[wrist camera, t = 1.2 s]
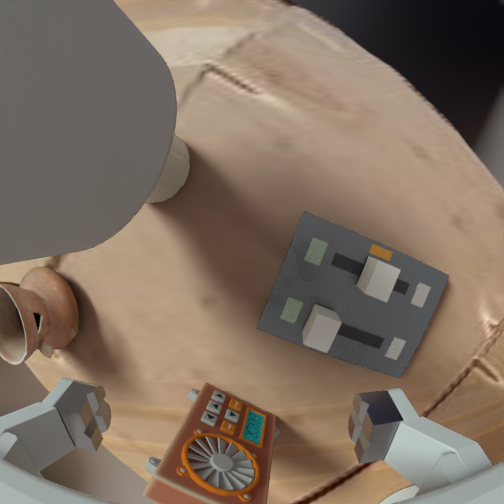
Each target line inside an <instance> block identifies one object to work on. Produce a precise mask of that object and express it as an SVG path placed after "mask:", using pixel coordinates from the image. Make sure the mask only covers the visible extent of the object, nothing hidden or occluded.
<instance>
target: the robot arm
mask: <svg viewBox="0 0 504 504" xmlns="http://www.w3.org/2000/svg"><path fill="white" fill-rule="evenodd" d="M105 396H106V394H105V391H104V388H103V387H102V386H100V385H96V384H91V383H86V382H82V381H78V380H72V379H68V378H63V379H61V380H60V381H59V382H58V384H57V385H56V386H55V387H54V388H53V390H52V391H51V392H50V393H49V395H48V396H47V397H46V398H45V399H44V401H43V402H42V403H35V404H33V405H30V406H28V407H25V408H23V409H20V410H17V411H15V412H12V413H10V414H7V415H5V416H2V417H0V504H119V503H114V502H111V501H107V500H104V499H100V498H96V497H93V496H90V495H87V494H84V493H81V492H78V491H75V490H72V489H69V488H67V487H64V486H61V485H59V484H56V483H54V482H51V481H48V480H46V479H44V478H43V477H42V475H41V474H40V472H39V471H41V470H42V469H44V468H45V467H47V466H48V465H50V464H51V463H53V462H55V461H56V460H58V459H59V458H61V457H62V456H64V455H65V454H67V453H68V452H70V451H71V450H73V449H74V448H75V447H79V448H83V449H87V450H91V451H97V449H98V447H99V446H100V444H101V442H102V440H103V437H102V435H101V433H103V432H105V431H107V430H108V428H109V426H110V422H111V410H110V406H109V404H108V403H107V402H106V401H105V400H104V398H105ZM353 405H354V408H355V409H354V410H353V411H352V412H351V413H350V417H349V434H350V437H351V440H353V441H354V442H356V446H355V449H354V450H355V452H356V455H357V458H358V461H359V464H360V463H367V462H373V461H379V460H384V461H385V462H386V463H387V464H388V465H390V466H391V467H392V468H393V469H395V470H396V471H397V472H398V473H400V474H401V475H402V476H404V477H405V478H406V479H407V480H409V481H410V482H411V483H413V484H414V486H411V487H408V488H405V489H402V490H400V491H398V492H396V493H394V494H392V495H391V496H389V497H387V498H386V499H385V500H383V501H382V502H381V503H380V504H504V461H502V462H500V463H498V464H496V465H494V466H493V465H492V463H491V462H490V460H489V459H488V457H487V456H486V454H485V453H484V452H483V450H482V449H481V447H480V446H479V444H478V443H477V442H475V441H473V440H471V439H469V438H466V437H464V436H462V435H460V434H458V433H456V432H454V431H451V430H449V429H447V428H445V427H443V426H441V425H439V424H437V423H435V422H433V421H431V420H429V419H427V418H425V417H419V416H418V415H417V413H416V411H415V410H414V408H413V407H412V405H411V403H410V402H409V400H408V399H407V397H406V396H405V394H404V392H403V391H402V389H400V388H394V389H388V390H383V391H376V392H369V393H361V394H356V396H355V397H354V401H353Z"/></svg>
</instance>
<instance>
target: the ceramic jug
mask: <svg viewBox="0 0 504 504" xmlns="http://www.w3.org/2000/svg"><path fill="white" fill-rule="evenodd" d="M78 327H79V311H78V305H77V302H76V299H75V296H74V293H73V291H72V289H71V287H70V286H69V284H68V283H67V281H66V280H65V279H64V278H63V277H62V276H61V275H60V274H59V273H57V272H56V271H54V270H52V269H50V268H47V267H36V268H33V269H31V270H30V271H28V272H27V273H26V274H25V276H24V277H23V279H22V281H21V283H20V284H17V283H12V282H0V356H1V357H2V358H3V359H4V360H6V361H7V362H9V363H11V364H15V365H18V364H21V363H23V362H24V361H25V360H27V359H28V358H29V357H30V356H31V355H32V354H33V352H34V351H35V350H37V349H39V350H40V352H41V353H42V354H43V355H44V356H46V357H48V358H51V356H52V354H53V349H61V348H64V347H66V346H67V345H68V344H69V343H70V342H71V341H72V340H73V338H74V337H75V336H76V335H77V334H78Z"/></svg>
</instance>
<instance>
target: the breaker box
mask: <svg viewBox="0 0 504 504" xmlns="http://www.w3.org/2000/svg"><path fill="white" fill-rule="evenodd" d="M368 256H370V257H373V258H375V259H377V260H380V261H382V262H384V263H387V264H389V265H391V266H393V267H396V268H398V269H400V273H399V275H398V278H397V280H396V283H395V285H394V287H393V290H392V292H391V294H390V296H389V299H388V301H387V302H384V301H382V300H379V299H377V298H374V297H372V296H369V295H367V294H364V293H363V292H362V291H361V290H360V289H359V288H358V287H357V286H356V285H357V283H358V281H359V278H360V276H361V274H362V271H363V269H364V266H365V264H366V261H367V259H368ZM448 278H449V275H447V274H445V273H443V272H441V271H439V270H437V269H435V268H433V267H431V266H429V265H427V264H424V263H422V262H420V261H418V260H416V259H414V258H411V257H409V256H407V255H405V254H403V253H401V252H398V251H396V250H394V249H392V248H389V247H387V246H385V245H383V244H380V243H378V242H376V241H374V240H371V239H369V238H367V237H364V236H362V235H360V234H357V233H355V232H353V231H350V230H348V229H346V228H343V227H341V226H338V225H336V224H334V223H331V222H329V221H326V220H324V219H321V218H319V217H316V216H314V215H311V214H309V213H306V212H303V213H302V216H301V218H300V221H299V224H298V226H297V229H296V231H295V234H294V236H293V239H292V242H291V244H290V247H289V249H288V252H287V254H286V257H285V259H284V262H283V264H282V267H281V269H280V272H279V274H278V277H277V279H276V282H275V284H274V286H273V289H272V291H271V294H270V296H269V299H268V301H267V303H266V306H265V308H264V311H263V313H262V316H261V318H260V320H259V323H258V326H257V329H259V330H261V331H264V332H267V333H269V334H272V335H274V336H277V337H280V338H282V339H285V340H287V341H290V342H293V343H296V344H298V345H301V346H304V347H306V348H309V349H312V350H315V351H317V352H320V353H323V354H326V355H329V356H332V357H335V358H338V359H340V360H343V361H346V362H349V363H352V364H355V365H358V366H361V367H364V368H368V369H371V370H374V371H377V372H380V373H383V374H387V375H390V376H393V377H396V378H401V376H402V374H403V372H404V371H405V369H406V367H407V365H408V363H409V361H410V360H411V358H412V356H413V354H414V352H415V350H416V348H417V346H418V344H419V342H420V340H421V338H422V336H423V334H424V332H425V330H426V328H427V326H428V324H429V322H430V320H431V318H432V315H433V313H434V311H435V309H436V307H437V304H438V302H439V300H440V297H441V295H442V293H443V290H444V288H445V285H446V283H447V280H448ZM315 304H317V305H320V306H322V307H325V308H327V309H330V310H333V311H335V312H337V314H338V316H339V318H340V320H341V322H342V324H341V326H340V328H339V330H338V332H337V334H336V336H335V338H334V340H333V342H332V344H331V346H330V348H329V350H328V352H327V353H325V352H322V351H320V350H317V349H314V348H311V347H308V346H306V345H303V335H302V331H303V329H304V327H305V325H306V322H307V320H308V318H309V316H310V314H311V311H312V309H313V307H314V305H315Z"/></svg>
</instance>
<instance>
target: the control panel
mask: <svg viewBox="0 0 504 504" xmlns="http://www.w3.org/2000/svg"><path fill="white" fill-rule="evenodd" d="M188 399H189V400H191V401H192V402H194V403H193V405H192V407H191V408H190V410H189V412H188V414H187V416H186V418H185V419H184V421H183V423H182V425H181V427H180V428H179V430H178V432H177V434H176V435H175V437H174V439H173V441H172V443H171V444H170V446H169V448H168V450H167V451H166V453H165V455H164V457H163V459H162V460H160V459H157V458H154V457H150V458H149V459H148V461H147V463H146V465H145V469H146V470H148V471H149V472H150V473H152V474H153V476H152V478H151V480H150V481H149V483H148V485H147V487H146V488H145V490H144V492H143V496H144V497H146V498H148V499H150V500H152V501H154V502H156V503H158V504H267V497H268V489H269V480H270V472H271V463H272V454H273V445H274V439H275V438H276V437H277V436H278V435H279V433H280V430H279V429H278V428H276V427H275V425H276V416H275V415H272V414H270V413H268V412H265V411H263V410H261V409H259V408H257V407H254V406H252V405H250V404H248V403H246V402H244V401H242V400H239V399H237V398H235V397H233V396H231V395H229V394H227V393H225V392H223V391H221V390H219V389H217V388H215V387H213V386H211V385H210V384H208V383H204V385H203V387H202V389H201V390H200V391H199V390H196V389H191V391H190V392H189V394H188Z"/></svg>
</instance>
